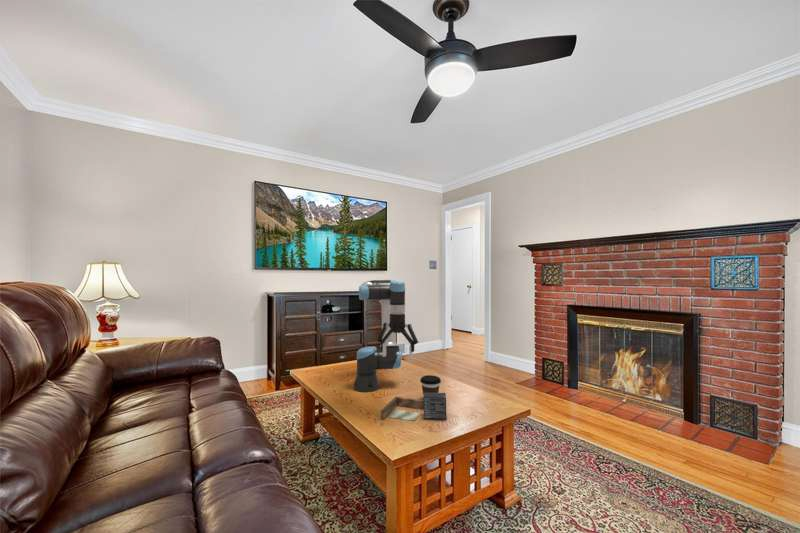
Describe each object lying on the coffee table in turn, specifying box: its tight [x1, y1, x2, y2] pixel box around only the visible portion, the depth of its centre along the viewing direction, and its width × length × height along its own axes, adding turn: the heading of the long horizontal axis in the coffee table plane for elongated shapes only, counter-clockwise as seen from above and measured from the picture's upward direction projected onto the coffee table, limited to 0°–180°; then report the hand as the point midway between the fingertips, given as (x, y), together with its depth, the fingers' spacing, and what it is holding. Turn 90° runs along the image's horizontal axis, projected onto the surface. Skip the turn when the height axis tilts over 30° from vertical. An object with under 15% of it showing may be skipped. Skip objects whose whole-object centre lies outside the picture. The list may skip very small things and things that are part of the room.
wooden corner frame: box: [380, 396, 424, 422], centre depth 158 cm, size 18×18×4 cm
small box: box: [423, 392, 447, 421], centre depth 155 cm, size 11×6×10 cm, turn 84°
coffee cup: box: [420, 375, 442, 396], centre depth 174 cm, size 11×11×12 cm
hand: (397, 357), depth 159 cm, fingers open, 13 cm apart
